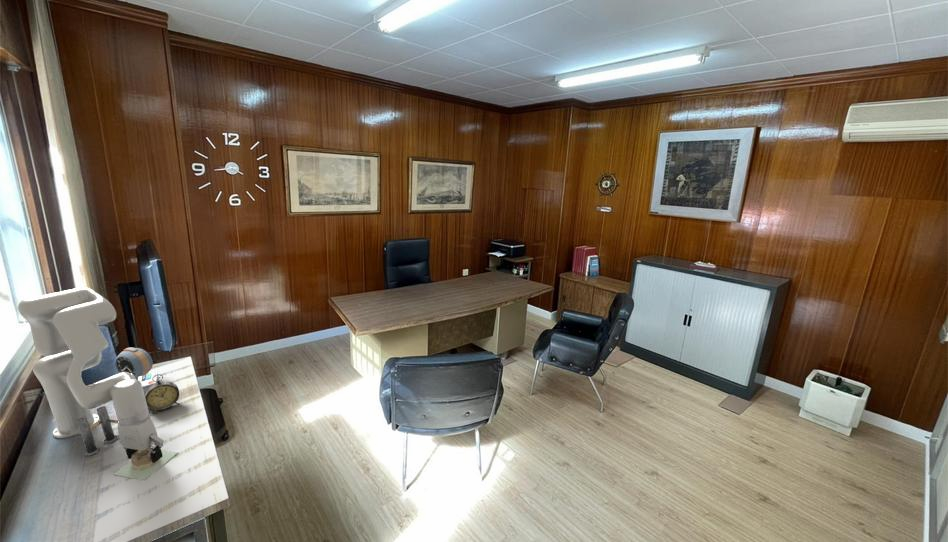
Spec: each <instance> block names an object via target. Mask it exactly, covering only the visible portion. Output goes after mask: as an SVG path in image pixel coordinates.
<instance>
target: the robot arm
mask: <svg viewBox="0 0 948 542" xmlns="http://www.w3.org/2000/svg"><path fill="white" fill-rule="evenodd" d="M17 309H18V312H19V314H20V315H21V317H23V319H25V321H27V322H28V324H29V325H30V330H31V335H32V339H33V344H34V348H35V350H36V352H37V353H38V354H39V355H41V356H43V357H41V358H39V359H37V360H36V361H35V362H34V364H33V365H32V371H33V374H34V375H35V376H36V378H37V380H38V381H39V383H40V384H41V386H42V389H43V390H44V393H45V396H46V399H47V402H48V404H49V407H50V409H51V413H52V416H53V419H52V420H51V421H52V423H56V427H55V428H54V429H53V431H52V435H53V437H55V438H58V439H64V438H71V437H75V436H78V435H81V432H80V429H79V426H78V423H77V420H78V419H79V418H82V417H87V420H88V423H89V426H90V427H91V426H93V425H94V424H96V423H98V422H99V421H100V419H99V416H98V413H97V414H96V413H93V411H92V410H93V409H97V408H99V407H102V405H105V404H107V403H109V402H112V405H113V408H114V412H115V415H116V418H117V419H116V420H118V423H117V433H118V434H116V435H117V438H118V439H117V440H119V443H120V445H121V447H122V448H123V449H124V450H125V453H126V457H127V459H128V460H131V457H132V455H133V454H134V453H135V452H137V451H138V450H146V449H148V450H149V451H150V452H151V453H150V457H151V460H152V463H155V462H156V461H158V460H159V459H160V458H162V456H163V455H162V452H161V450H162V447H163V446H164V443H165V441H164V439H163V438H161V437H159V436H158V432H157V429H156V426H155V424H154V422H153V420H152V417H150V415H151V414H150V411H149V408H148V406H147V403H146V399H145V395H144V391H143V388H142V384H141V382H140V381H139V380H137V379H136V378H135V376H134V375H133V374H131V373H129V372H121V373H119V372H118V373H116V374H114V375H111V376H108V377H106V378H104V379H101V380H98V381H96V382H93V383H91V384H88V385H86V384H85V383H84V380H83V378H82V372H83V371H85V370H88V369H90V368H93V367H96V366H98V365H99V364H101V361H102V358H103V357H102V352H104V351H105V350H106V349H107V348H108V347H109V342H108V340H107V339H106V338H105V335H104V334H103V332H102V330H101V329H100V327H99V326H102V325H104V324H107V323H111V322H114V321H115V320H116V318H117V311H116V308H115V306H113V304H112V303H111V302H110V301H109V300H108V299H107V298H105V297H104V296H103V295H101V294H100V293H98V292H96V290H94V289H92V288H90V287H84V286H83V287H77V288H72V289H66V290H62V291H57V292H52V293H47V294H43V295H39V296H33V297H29V298H24V299H22V300H20V301H19V303H18V307H17ZM150 441H151V442H152V443H151V444H150ZM153 445H154V447H155V448H154V449H153V448H152V447H151V446H153Z"/></svg>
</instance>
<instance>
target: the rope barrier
mask: <svg viewBox="0 0 948 542" xmlns="http://www.w3.org/2000/svg"><path fill="white" fill-rule="evenodd" d="M96 412H97V415H98V416H99V419H100V421H99V422H98V423H96V424H94V425H93V426H91V427H90V426H89V423H88V420H87V417H82V418H79V419H78V420H77V423H78V426H79V429H80V432H81V434H80V435H81V438H82V440H83V441H82V442H83V444H84V447H85V450H86V451H85V452H84V453H83V455H84V457H92V456H94V455H96V454H98V453H99V452H100V451H101V447H100V446H96V442H95V439H94V436H93V432H92V430H93V429H94V428H96V427H98V426H100V425H101V429H102V432H103V434H104V439H103V441H102V443H103V444H104V445H109V444H112V443H114V442H116V441H117V440H119V439H118V438H117V435H118V434H115V432H114V429H113V426H112V423H113V424H118V419H111V418H110V416H109V413H108V409H107V406H105V405H104V406H102V405H101V406H98V407H97V408H96ZM151 443H152V442H151V441H150V444H151Z"/></svg>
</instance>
